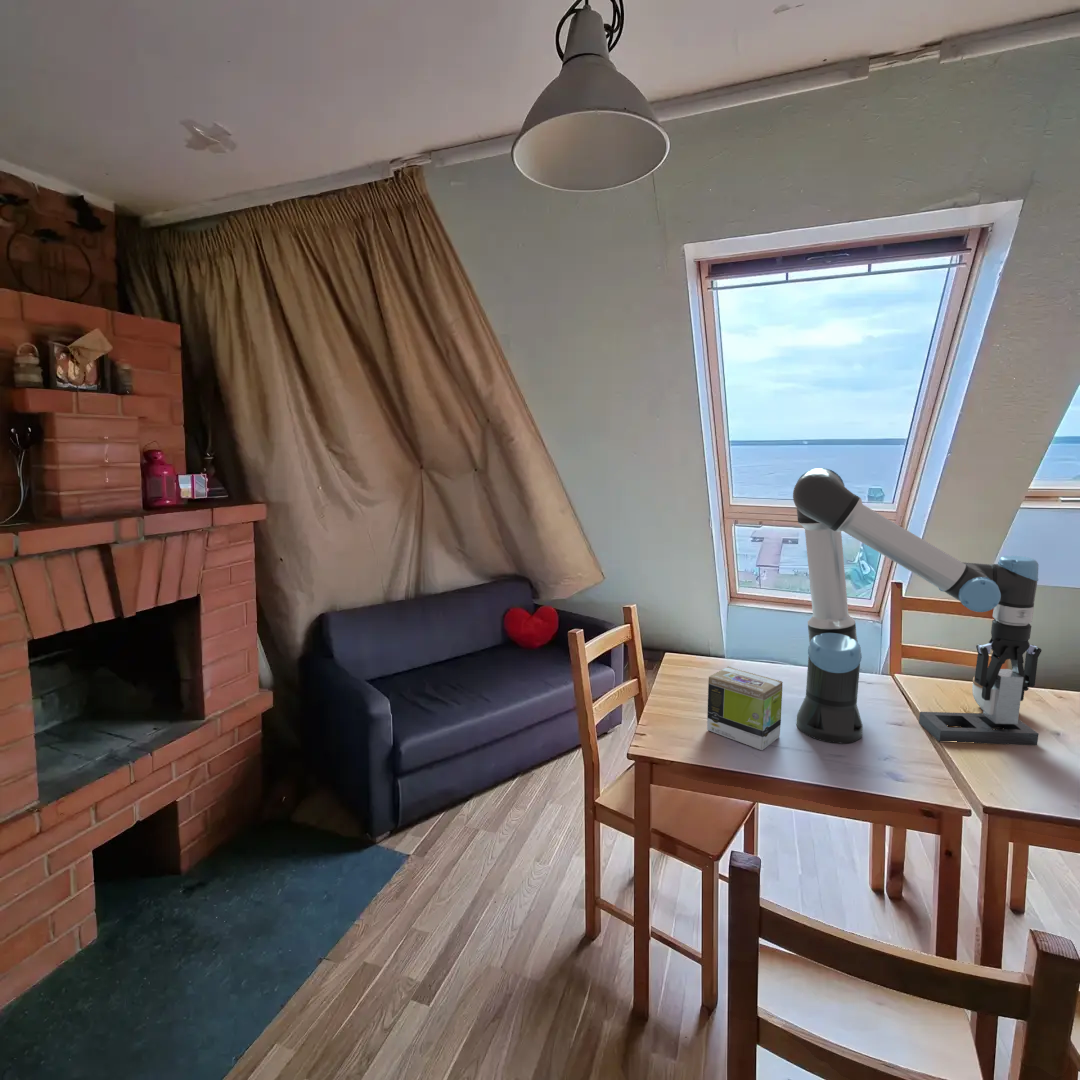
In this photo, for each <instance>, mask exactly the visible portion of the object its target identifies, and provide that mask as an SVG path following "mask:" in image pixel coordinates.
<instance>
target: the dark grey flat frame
mask: <svg viewBox="0 0 1080 1080" xmlns="http://www.w3.org/2000/svg"><path fill="white" fill-rule="evenodd" d="M918 724H920V725H921V726H922V727H923V728H924V729H925V730H926V731H927V732H928V733H929V734H930V735H931V736H932V737H933V738H934V739H936V741H938V743H941V742H940V741H957V742H974V743H973V744H984V743H987V744H988V745H990V744H991V745H1017V746H1018V745H1019V746H1038V742H1039V741H1038V740H1039V735H1040V734H1039V733H1038V732H1037V731H1036V730H1034V729H1033V728H1032V727H1030V726H1029V725H1027V724H1026V723H1024V722H1023V721H1022V720H1020V719H1019V718H1018V724H995V723H994V722H992V721H991V720H990V719H989V718H987V717H986V716H985V715H983V712H982V713H979V712H977V713H975V712H942V711H940V712H938V711H920V712H919V718H918ZM947 725H948V726H961V727H962V728H961V727H948V726H947Z"/></svg>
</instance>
